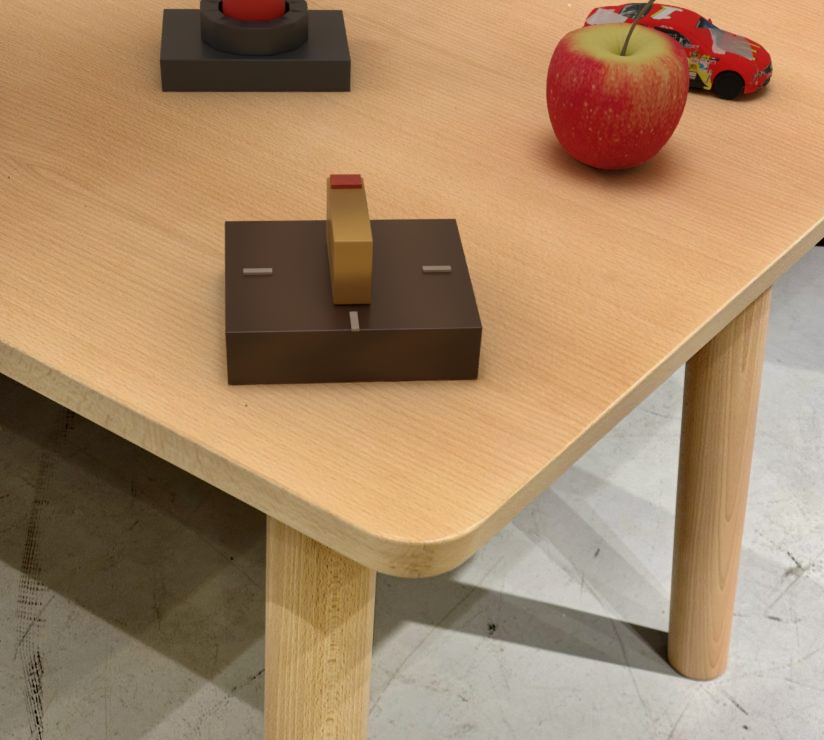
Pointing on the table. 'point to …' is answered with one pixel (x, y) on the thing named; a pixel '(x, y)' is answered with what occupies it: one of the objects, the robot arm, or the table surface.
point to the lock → (349, 239)
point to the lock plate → (348, 306)
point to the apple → (616, 92)
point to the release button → (254, 9)
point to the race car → (700, 46)
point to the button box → (254, 51)
